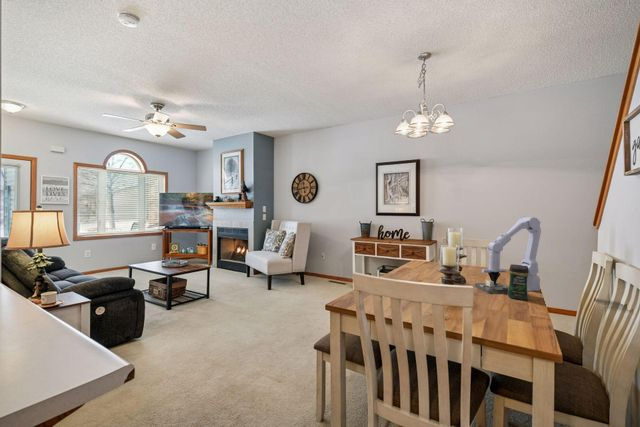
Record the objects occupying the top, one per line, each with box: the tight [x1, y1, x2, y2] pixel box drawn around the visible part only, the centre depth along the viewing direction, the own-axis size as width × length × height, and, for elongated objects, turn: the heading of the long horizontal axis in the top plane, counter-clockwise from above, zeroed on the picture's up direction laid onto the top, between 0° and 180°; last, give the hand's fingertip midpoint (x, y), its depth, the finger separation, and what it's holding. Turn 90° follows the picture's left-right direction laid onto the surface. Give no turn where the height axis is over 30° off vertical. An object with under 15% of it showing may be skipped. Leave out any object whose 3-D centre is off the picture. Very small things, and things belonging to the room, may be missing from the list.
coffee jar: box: [507, 264, 529, 300], centre depth 187 cm, size 10×8×19 cm
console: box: [474, 280, 509, 294], centre depth 203 cm, size 16×14×3 cm
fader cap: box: [485, 279, 494, 287], centre depth 203 cm, size 2×4×3 cm, turn 5°
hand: (493, 284), depth 203 cm, fingers closed
